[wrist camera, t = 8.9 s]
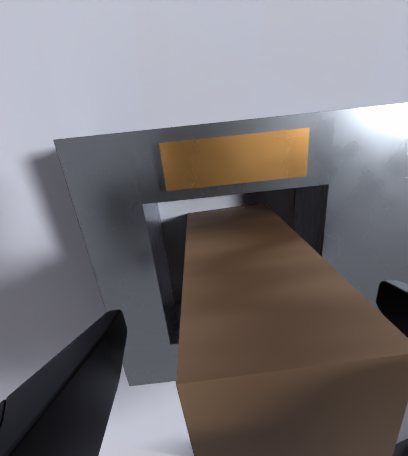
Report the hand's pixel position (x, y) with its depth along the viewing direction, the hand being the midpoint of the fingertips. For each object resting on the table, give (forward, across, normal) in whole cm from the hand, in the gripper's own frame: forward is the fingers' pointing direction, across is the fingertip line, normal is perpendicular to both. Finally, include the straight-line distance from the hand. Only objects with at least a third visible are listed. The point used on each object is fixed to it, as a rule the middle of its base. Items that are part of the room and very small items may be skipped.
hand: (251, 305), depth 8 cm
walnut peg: (+5, 0, 0) cm, 5 cm away
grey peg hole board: (+5, -4, 0) cm, 6 cm away
